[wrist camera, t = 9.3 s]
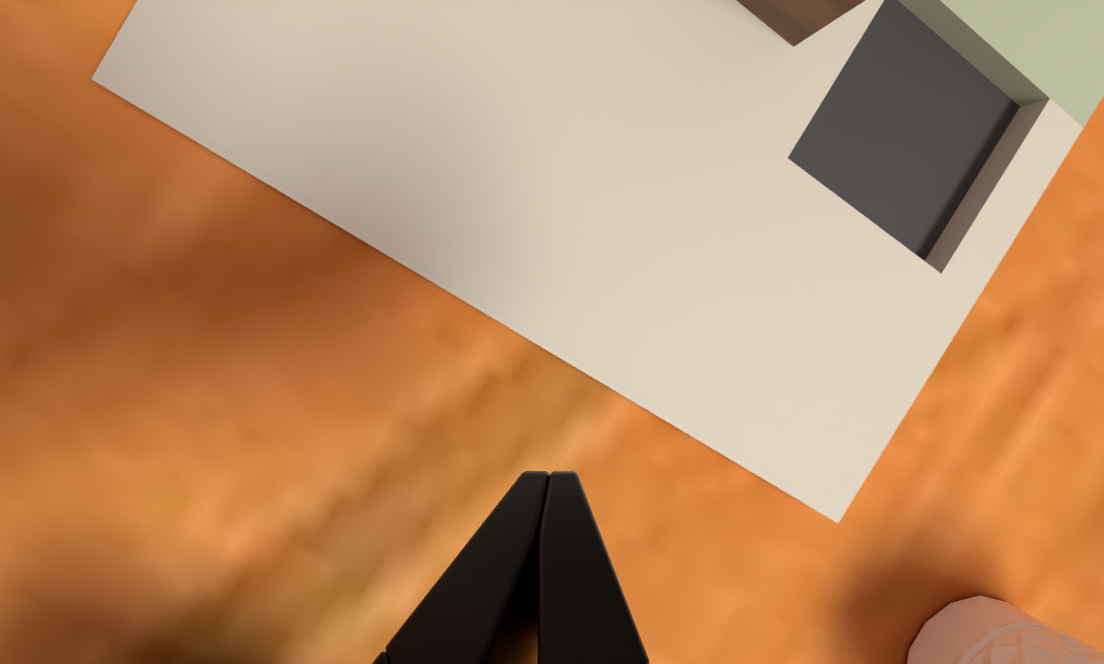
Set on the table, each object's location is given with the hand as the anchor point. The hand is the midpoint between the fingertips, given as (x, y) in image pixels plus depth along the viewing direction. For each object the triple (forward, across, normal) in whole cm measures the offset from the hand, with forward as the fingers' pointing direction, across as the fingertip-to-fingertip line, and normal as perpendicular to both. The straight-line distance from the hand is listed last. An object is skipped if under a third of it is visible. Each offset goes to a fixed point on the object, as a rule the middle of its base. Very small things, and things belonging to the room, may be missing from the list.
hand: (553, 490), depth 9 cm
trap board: (+19, -6, -7) cm, 21 cm away
